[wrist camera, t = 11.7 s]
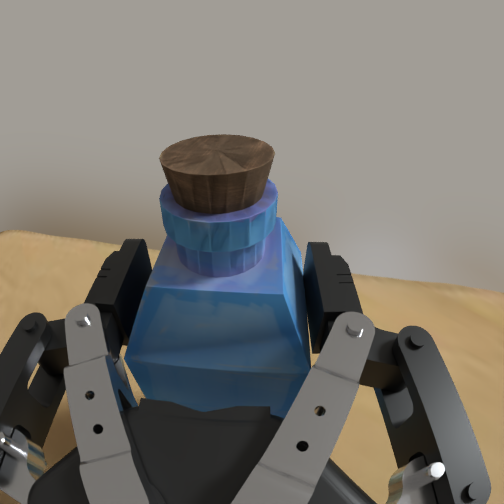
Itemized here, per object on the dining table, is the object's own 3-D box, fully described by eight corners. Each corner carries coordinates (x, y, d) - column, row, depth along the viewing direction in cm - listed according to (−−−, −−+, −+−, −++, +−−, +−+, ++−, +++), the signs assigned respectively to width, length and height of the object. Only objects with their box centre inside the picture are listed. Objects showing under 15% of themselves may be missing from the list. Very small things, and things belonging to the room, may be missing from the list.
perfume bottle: (289, 434, 13) (354, 215, 6) (162, 424, 14) (61, 208, 6) (287, 335, 18) (315, 126, 11) (183, 329, 18) (148, 124, 11)
